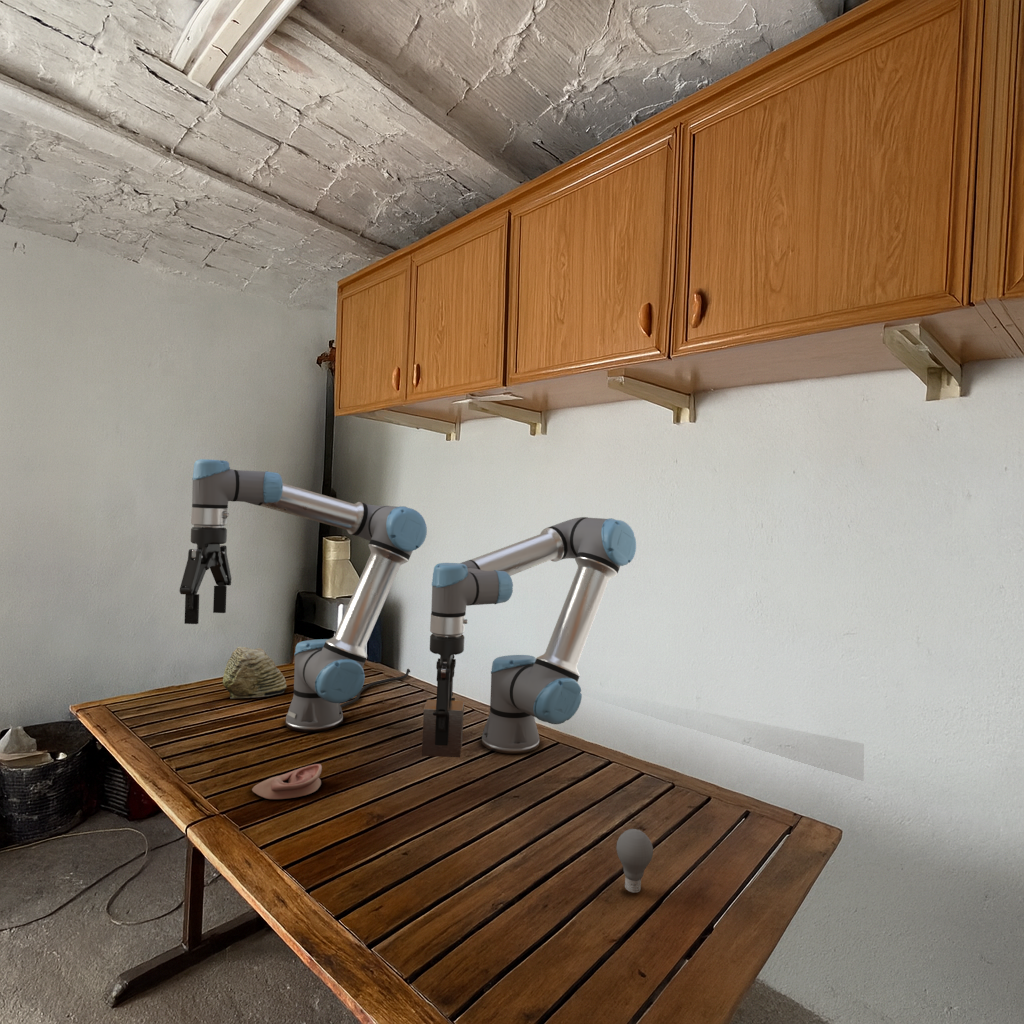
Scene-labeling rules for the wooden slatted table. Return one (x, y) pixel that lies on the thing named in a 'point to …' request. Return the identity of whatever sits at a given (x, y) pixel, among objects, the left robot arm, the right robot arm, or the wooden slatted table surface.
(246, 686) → the fossil
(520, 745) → the right robot arm
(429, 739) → the block
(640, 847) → the light bulb
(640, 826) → the wooden slatted table surface
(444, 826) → the wooden slatted table surface
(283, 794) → the anatomical model
